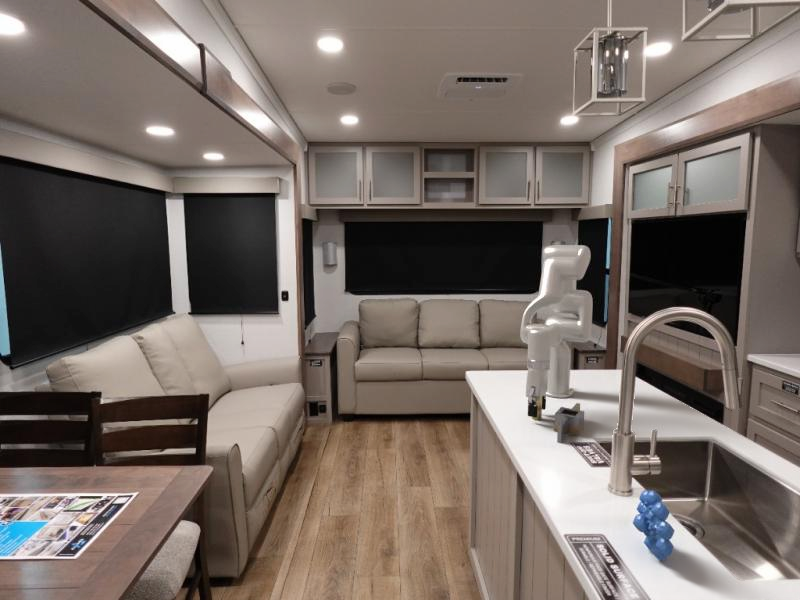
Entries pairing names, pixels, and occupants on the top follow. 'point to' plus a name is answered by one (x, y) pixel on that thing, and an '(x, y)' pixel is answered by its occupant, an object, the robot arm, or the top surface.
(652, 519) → the grapes
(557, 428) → the hinge
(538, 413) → the hinge pin
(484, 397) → the top surface
